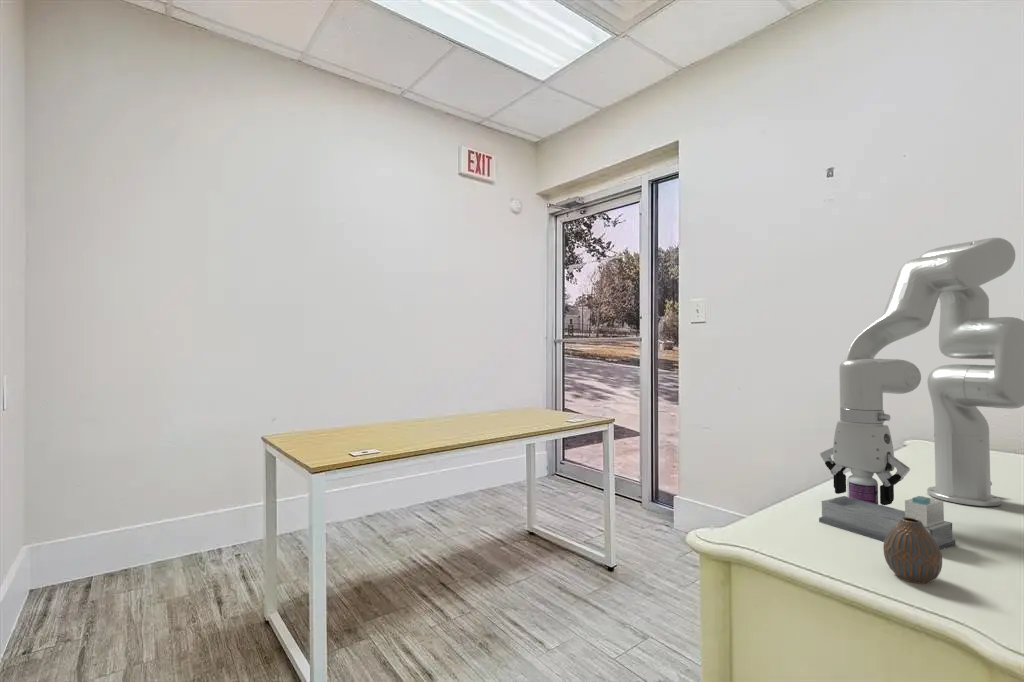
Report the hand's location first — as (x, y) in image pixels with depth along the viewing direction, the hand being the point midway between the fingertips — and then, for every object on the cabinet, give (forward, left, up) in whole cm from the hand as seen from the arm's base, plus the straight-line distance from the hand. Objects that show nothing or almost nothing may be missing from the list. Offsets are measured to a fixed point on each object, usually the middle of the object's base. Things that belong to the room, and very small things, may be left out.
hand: (862, 498), depth 103 cm
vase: (+26, +20, -3) cm, 33 cm away
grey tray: (+9, +8, -3) cm, 12 cm away
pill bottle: (0, 0, -3) cm, 3 cm away
